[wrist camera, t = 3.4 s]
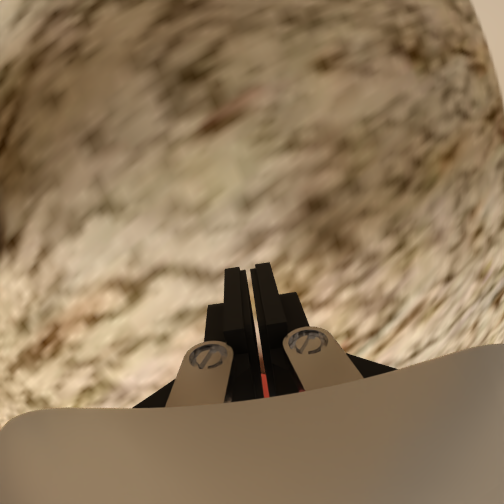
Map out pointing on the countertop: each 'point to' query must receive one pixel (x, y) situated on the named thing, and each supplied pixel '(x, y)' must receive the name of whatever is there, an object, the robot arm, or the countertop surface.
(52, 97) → the countertop surface
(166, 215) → the countertop surface
